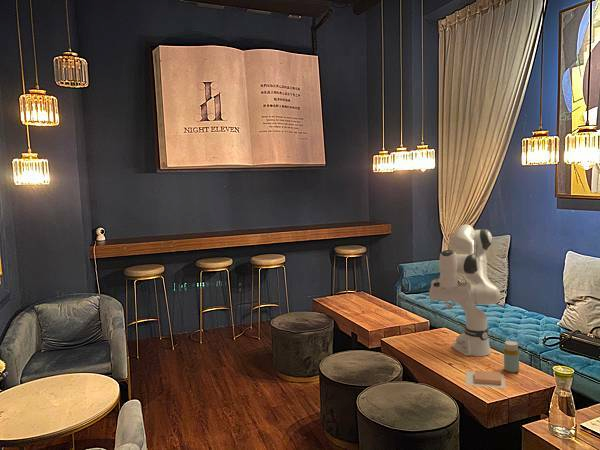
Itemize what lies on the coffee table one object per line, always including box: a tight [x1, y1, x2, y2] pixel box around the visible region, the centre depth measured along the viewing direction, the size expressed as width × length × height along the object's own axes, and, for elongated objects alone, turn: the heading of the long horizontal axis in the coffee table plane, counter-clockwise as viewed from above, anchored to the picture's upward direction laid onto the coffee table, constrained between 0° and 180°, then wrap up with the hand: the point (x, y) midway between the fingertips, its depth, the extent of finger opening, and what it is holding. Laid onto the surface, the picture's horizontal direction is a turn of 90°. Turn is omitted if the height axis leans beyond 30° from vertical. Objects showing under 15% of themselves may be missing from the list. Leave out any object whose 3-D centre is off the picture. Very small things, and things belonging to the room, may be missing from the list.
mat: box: [465, 370, 507, 389], centre depth 239 cm, size 18×16×1 cm
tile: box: [474, 369, 501, 385], centre depth 239 cm, size 2×10×12 cm
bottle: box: [503, 340, 520, 374], centre depth 246 cm, size 7×7×15 cm
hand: (449, 308), depth 247 cm, fingers closed
